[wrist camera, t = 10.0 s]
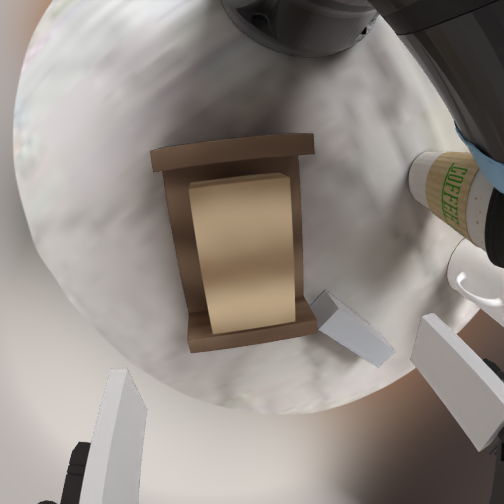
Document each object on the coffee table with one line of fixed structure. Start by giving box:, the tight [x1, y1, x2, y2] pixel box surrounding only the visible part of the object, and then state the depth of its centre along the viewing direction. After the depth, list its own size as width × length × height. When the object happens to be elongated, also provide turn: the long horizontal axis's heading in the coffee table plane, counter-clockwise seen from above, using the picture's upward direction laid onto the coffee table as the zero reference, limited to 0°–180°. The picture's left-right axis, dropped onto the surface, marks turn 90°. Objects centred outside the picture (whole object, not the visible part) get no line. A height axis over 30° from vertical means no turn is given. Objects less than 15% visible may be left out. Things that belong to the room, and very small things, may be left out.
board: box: [189, 172, 295, 334], centre depth 24 cm, size 12×7×3 cm, turn 6°
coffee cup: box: [409, 152, 504, 268], centre depth 23 cm, size 10×10×15 cm
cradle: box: [150, 133, 317, 353], centre depth 27 cm, size 18×12×6 cm, turn 6°
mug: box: [447, 238, 504, 327], centre depth 30 cm, size 12×8×12 cm
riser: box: [310, 290, 395, 368], centre depth 34 cm, size 12×3×4 cm, turn 51°
